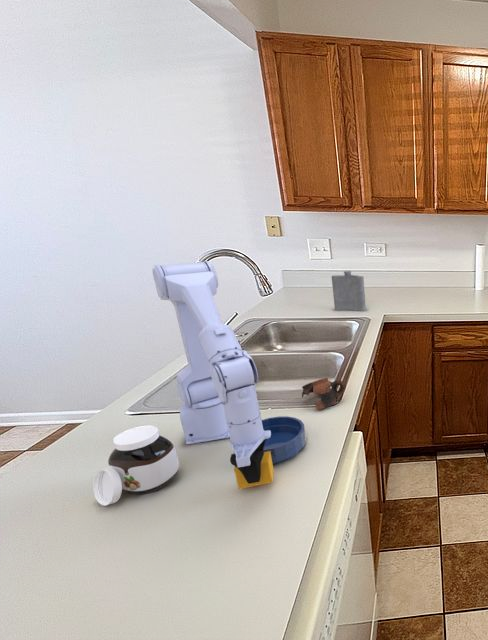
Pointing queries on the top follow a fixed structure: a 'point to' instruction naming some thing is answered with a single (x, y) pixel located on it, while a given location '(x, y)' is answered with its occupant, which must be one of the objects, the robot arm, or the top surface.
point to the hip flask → (348, 292)
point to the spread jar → (136, 465)
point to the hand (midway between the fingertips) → (255, 474)
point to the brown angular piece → (324, 392)
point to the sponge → (265, 473)
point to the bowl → (284, 437)
